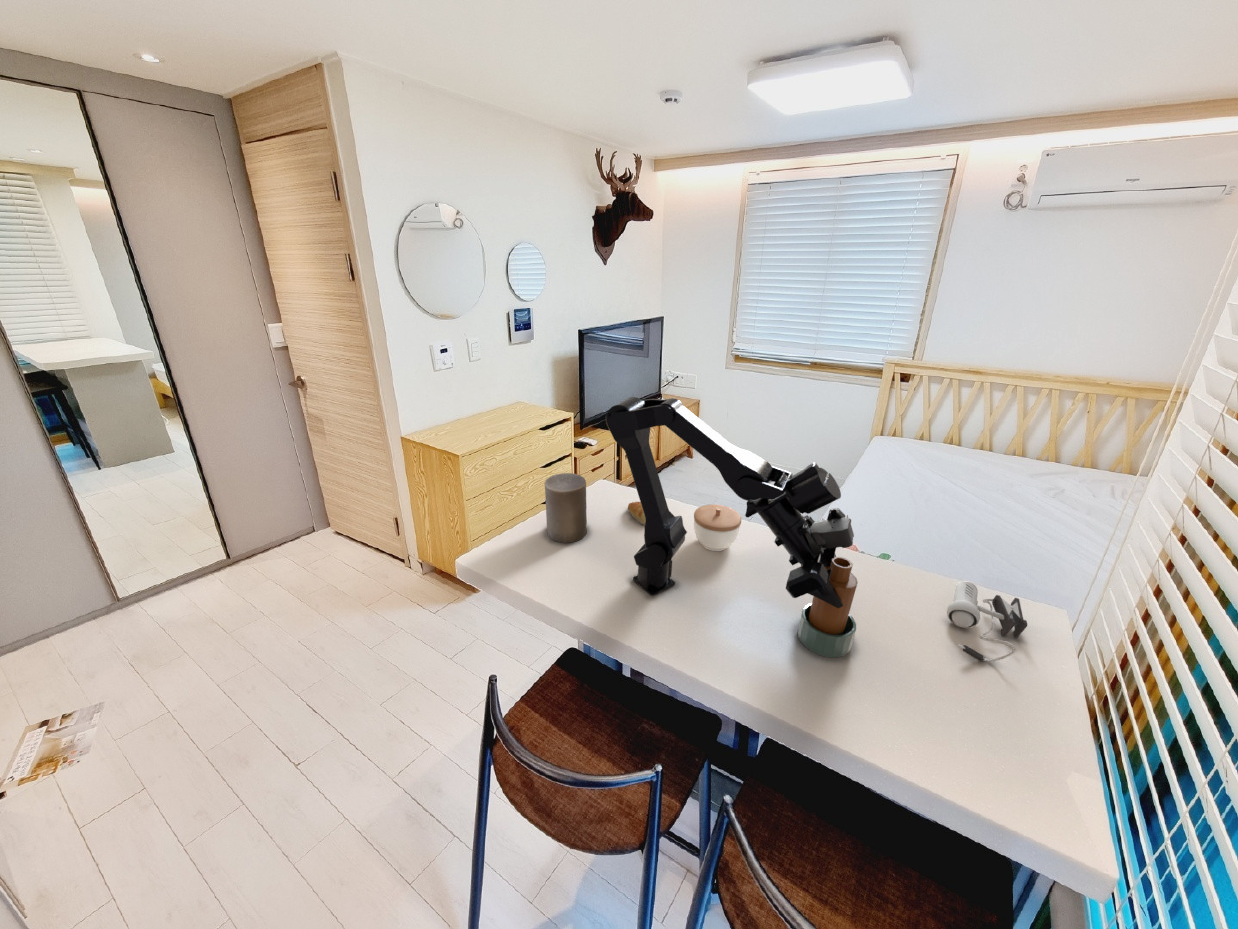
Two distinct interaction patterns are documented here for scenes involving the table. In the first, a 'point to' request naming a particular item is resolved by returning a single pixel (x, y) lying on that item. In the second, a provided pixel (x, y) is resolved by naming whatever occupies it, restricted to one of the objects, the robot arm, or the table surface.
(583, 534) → the pillar candle
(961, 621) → the clip-on lamp
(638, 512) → the pastry
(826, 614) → the bottle
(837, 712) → the table surface
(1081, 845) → the table surface
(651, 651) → the table surface
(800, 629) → the cup
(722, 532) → the trinket box
